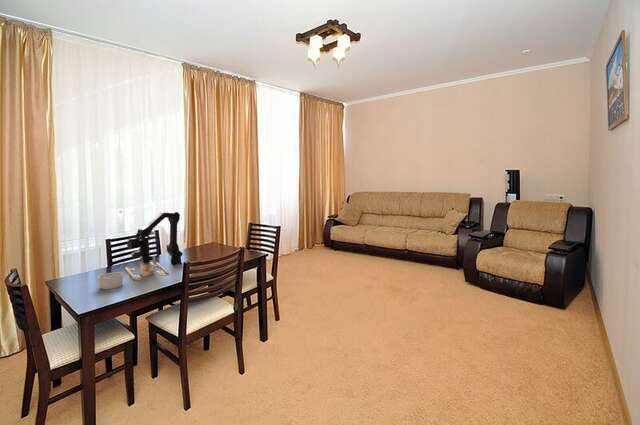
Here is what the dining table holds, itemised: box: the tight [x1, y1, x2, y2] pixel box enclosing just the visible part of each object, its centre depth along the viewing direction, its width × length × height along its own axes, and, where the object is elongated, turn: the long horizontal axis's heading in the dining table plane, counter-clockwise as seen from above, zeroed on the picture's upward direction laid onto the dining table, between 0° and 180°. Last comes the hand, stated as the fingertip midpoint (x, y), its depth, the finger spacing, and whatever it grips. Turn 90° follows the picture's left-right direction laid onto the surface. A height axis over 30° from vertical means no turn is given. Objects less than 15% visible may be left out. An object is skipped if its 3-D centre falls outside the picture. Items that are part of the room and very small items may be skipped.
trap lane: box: [125, 261, 170, 282], centre depth 232 cm, size 21×32×2 cm, turn 38°
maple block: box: [140, 261, 155, 277], centre depth 227 cm, size 7×7×7 cm
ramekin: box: [97, 271, 124, 290], centre depth 203 cm, size 13×13×7 cm
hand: (146, 268), depth 232 cm, fingers closed
